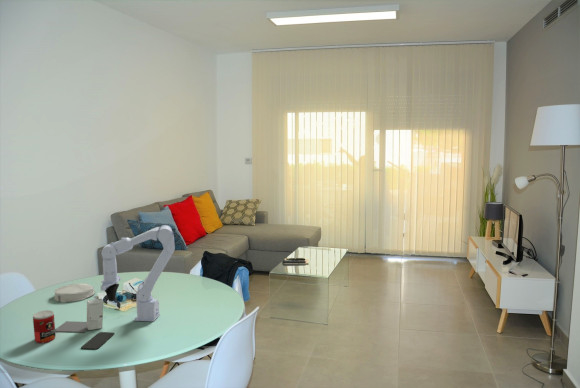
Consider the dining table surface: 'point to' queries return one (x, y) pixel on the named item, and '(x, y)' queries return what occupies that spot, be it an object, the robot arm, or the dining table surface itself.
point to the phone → (97, 341)
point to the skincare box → (94, 314)
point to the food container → (73, 292)
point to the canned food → (44, 326)
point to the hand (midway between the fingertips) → (111, 300)
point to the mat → (72, 327)
